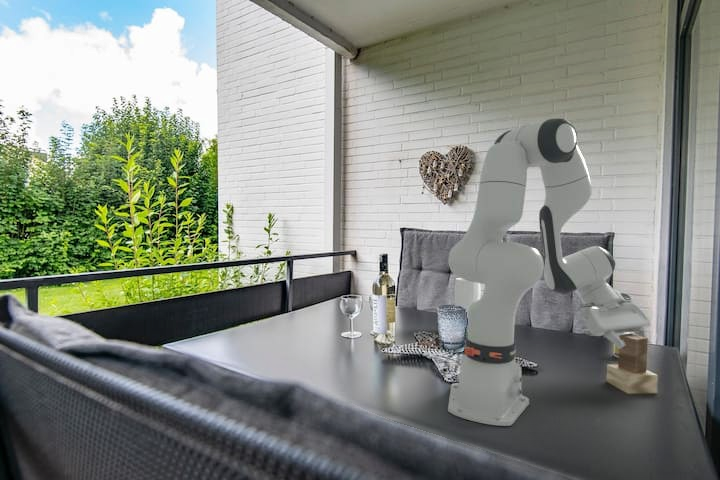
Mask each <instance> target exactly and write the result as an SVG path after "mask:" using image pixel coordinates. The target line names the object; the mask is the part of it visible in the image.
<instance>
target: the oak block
mask: <svg viewBox="0 0 720 480" xmlns="http://www.w3.org/2000/svg"><path fill="white" fill-rule="evenodd" d="M658 379H659V374H656V373H654V372H652V371H650V370H648V369H646V372H641V373H636V374H634V373H632V372H629V371H626V370H623V369H620V368H618V363H617V364H607V365H606V383H609V384H610V385H611V386H614V387H616V388H618V389H619V390H621V391H623V392H625V393H626V394H631V395H632V394H635V395H636V394H658Z"/></svg>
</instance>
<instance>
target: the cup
mask: <svg viewBox="0 0 720 480" xmlns="http://www.w3.org/2000/svg"><path fill="white" fill-rule="evenodd" d="M481 292H482V291H481V283H476V282H470V281H467V280H465V279H462V278H460V277H455V280H454V305H455V307H456V306H461V307H464V308H465V309H466V312H467V318H468V310H469V307H470V306H471V305H472V304H473V303H474V302H476V301H478V300H480V299H481Z"/></svg>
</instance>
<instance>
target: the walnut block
mask: <svg viewBox="0 0 720 480" xmlns="http://www.w3.org/2000/svg"><path fill="white" fill-rule="evenodd" d="M619 339H621V340H624V342H625V343H626V345H627V346H626V347H624V348H622V349H619V358H618V363H617V364H618V368H620V369H623V370H626V371H629V372H632V373H634V374H636V373H641V372H646V370H647V366H648V365H647V364H648V346H649V344H648V339H649V338H648V337H647V338H645V337H642V336H638V335H636V334H635V333H634V334H633V333H630V334H624V335H620V337H619Z"/></svg>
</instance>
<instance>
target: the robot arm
mask: <svg viewBox="0 0 720 480" xmlns="http://www.w3.org/2000/svg"><path fill="white" fill-rule="evenodd" d="M577 133H578V132H577V130H576V128H575V127H574V125H573V124H572V123H571V122H570V121H568V120H567V119H565V118H557V117H556V118H549V119H547V120H544V121H538V122H534V123H533V122H532V123H528V124H523V125H521V126H519V127H516V128H514V129H512V130H511V129H510V130H508V131H506V132H503V133H502V134H500V136H498V137H497V138H496V140H495V141H494V143H493V144H492V145H491V146H490V147H489V148H488V150H487V151H486V154H485V158H484V160H483V164H482V168H481V172H480V178H479V183H478V184H479V185H478V190H477V191H478V192H477V198H476V204H475V210H474V213H473V218H472V220H471V222H470V225H469V226H468V228H467V230H466V232H465V234H464V235H463V237H462V238H461V239H460V240H458V242H457V243H456V244H454V245H453V246H452V247H451V249H450V251H449V253H448V259H447V260H448V266H449V269H450V271H451V273H453V274H454V275H455V276H456V277H457V278H462V279H465V280H467V281H470V282H476V283H480V284H483V285H484V288H483V289H484V290H483V293H482V294H481V296H480V300H478V301H476V302H474V303H473V304H472V305H471V306H470V307H469V310H468V327H467V336H466V337H465V342H464V351H463V352H464V354H463V355H462V356H461V357H460V360H459V361H460V368H459V370H460V372H459V375H457V376H456V377H455V380H456V382H455V383H452V384H451V385H450V391H449V399H448V405H447V411H448V412H449V413H450V414H452V415H454V416H456V417H459V418H461V419H464V420H469V421H472V422H476V423H479V424H484V425H490V426H497V427H498V426H502V427H507V426H508V427H510V426H512V425H513V424H514V423H515V422H516V420H517V419H518V418H519V417H520V415H521V414H522V413H524V411H525V410H526V408H527V407H528V406H529V405H530V399H529V398H528V397H527V396H525V395H523V394H522V367H521V366H520V364H518V362H517V361H516V359H515V358H516V352H517V348H516V342H515V341H514V340H515V337H514V336H515V324H516V314H517V310H518V307H519V304H520V302H521V300H522V298H523V297H524V295H525V294H526V293H527V292H528V291H530V289H532V288H533V287H535V286H536V285H537V284H538V283H539V282H540V281H541V279H542V277H543V279H544V282H545V284H546V286H547V288H548V290H550V291H551V292H554V293H556V294H559V295H565V296H566V295H569V294H570V293H573V292H576V293H577V295H578V296H579V299H580V300H581V302H582V303H581V304H580V305H579V307H578V311H579V312H580V314H581V318H582V321H583V323H584V324H585V326H586V328H587V330H588V331H589V332H590V334H591V335H593V336H595V337H600V336H605V338H606V339H608V341H610V342H611V343H613V345H614V344H615V345H616V346H617V348H618V349H622V348H624V347H626V346H627V345H626V343H625V342H624V340H621V339H619V338H618V337H617V336H616V335H615V334H619V333H627V332H629V333H634V335H638V336H642V337H645V338H648V337H647V332H646V329H648V328H649V327H650V326H651V321H650V319H649V318H648V316H647V315H646V314H645V312H644V310H643V309H641V307H640V306H639V305H638V304H636V303H635V302H634V298H633V296H632V295H630V294H628V293H624V292H621V291H618V290H616V289H613V287H612V286H611V285H610V284H609V283H608V282H607V279H609V278H611V277H612V275H613V273H614V271H615V268H616V261H615V259H614V257H613V256H612V254H611V253H610V252H609V251H608V250H607V249H605V248H603V247H601V246H598V245H593V246H589V247H587V248H584V249H580V250H578V251H577V252H574V253H571V254H568V255H566V256H563V250H562V243H561V232H562V229H563V227H564V225H566V223H567V222H568V221H569V220H571V218H572V217H573V216H575V215H576V214H577V213H578V212H580V211H581V210H582V209H583V208H584V207H585V206H586V204H587V203H588V202H589V201H590V199H591V196H592V193H593V188H592V187H593V186H592V181H591V177H590V174H589V171H588V167H587V164H586V160H585V159H584V157H583V154H582V153H581V151H580V149H579V146H578V134H577ZM528 168H539V169H540V171H541V172H540V174H541V178H542V182H543V186H544V189H545V197H544V203H543V205H542V207H541V208H540V210H539V212H538V213H539V216H538V217H539V218H538V220H539V222H538V223H539V230H540V231H539V232H540V233H539V234H540V239H541V240H540V241H541V250H542V255H541V252H540V251H539V250H538V249H537V248H535V247H532V246H530V245H526V244H524V243H520V242H513V241H503V239H504V236H505V235H506V234H507V232H508V231H509V229H511V228H512V227H514V226H516V225H517V224H518V223H519V222H520V221H521V220H522V217H523V213H524V204H525V196H526V189H527V176H528V175H527V174H528ZM650 344H651V340H650V339H649V338H648V345H650Z"/></svg>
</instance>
